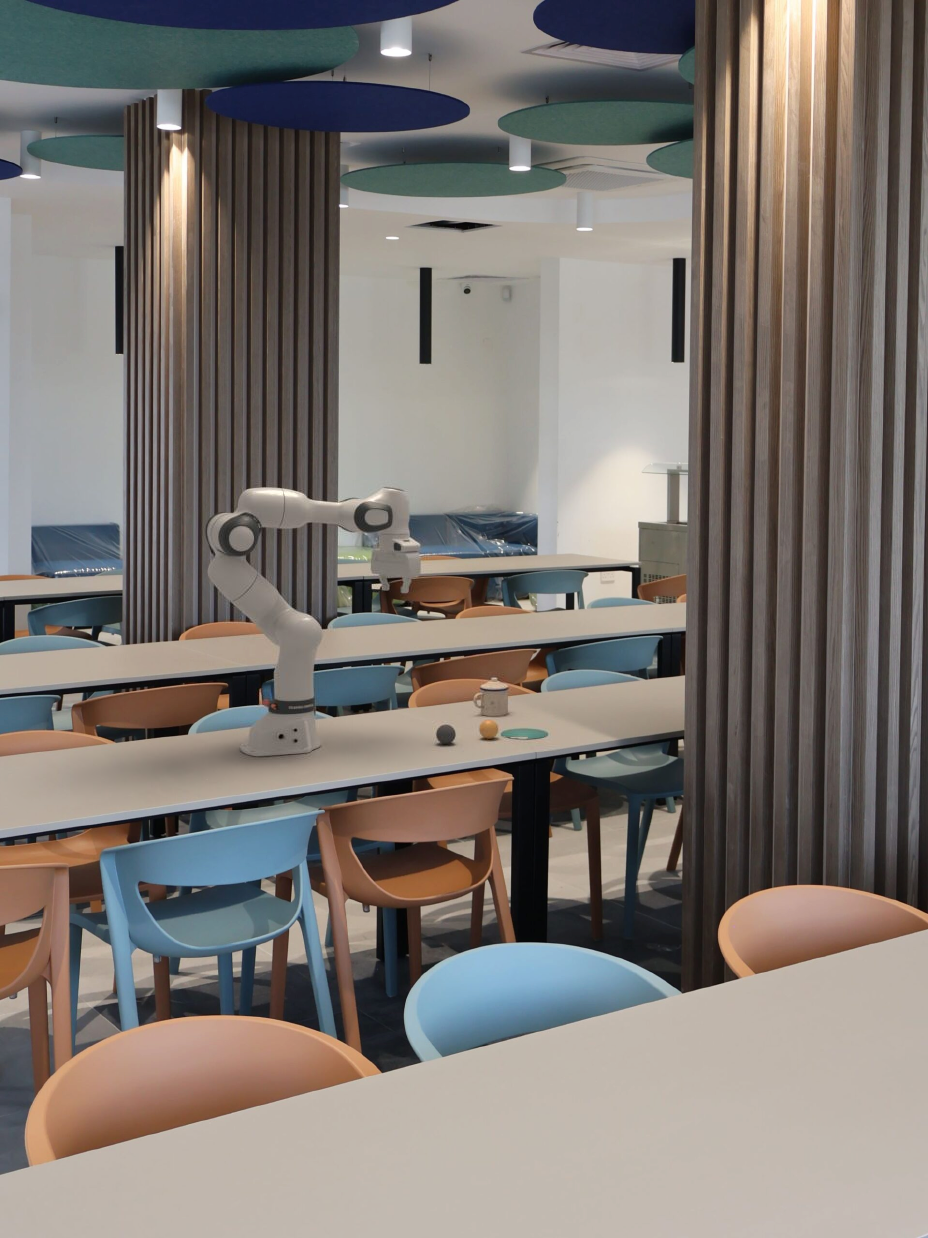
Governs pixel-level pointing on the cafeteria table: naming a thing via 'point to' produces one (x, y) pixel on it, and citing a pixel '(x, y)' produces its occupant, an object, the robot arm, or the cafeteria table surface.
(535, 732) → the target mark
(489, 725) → the object ball
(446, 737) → the dark grey ball
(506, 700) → the teacup with lid
